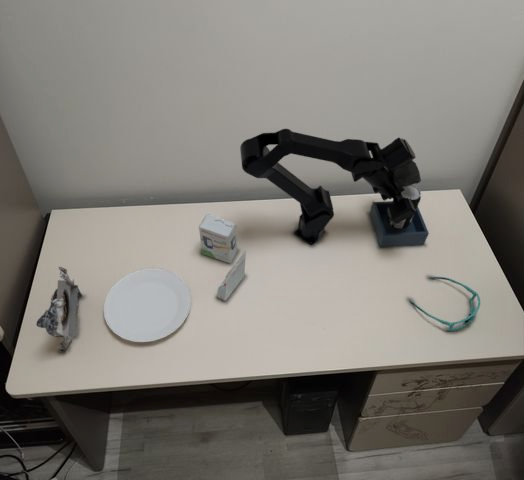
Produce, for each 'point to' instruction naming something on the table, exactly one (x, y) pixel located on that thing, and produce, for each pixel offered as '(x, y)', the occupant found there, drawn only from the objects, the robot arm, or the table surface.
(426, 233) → the tub
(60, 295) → the grey ornamental figurine
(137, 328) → the plate
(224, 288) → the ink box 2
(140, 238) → the table surface
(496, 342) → the table surface
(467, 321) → the sunglasses
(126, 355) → the table surface
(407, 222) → the beverage can
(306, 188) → the robot arm
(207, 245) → the ink box
